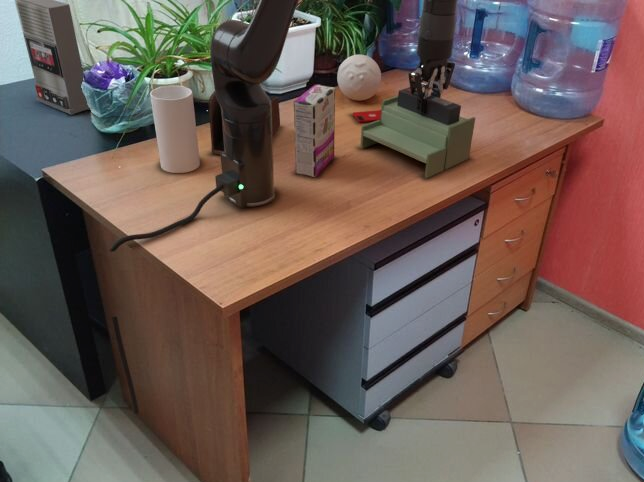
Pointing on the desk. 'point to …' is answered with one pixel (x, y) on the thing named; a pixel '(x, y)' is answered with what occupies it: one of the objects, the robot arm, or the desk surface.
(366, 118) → the electronic device
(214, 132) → the letter holder
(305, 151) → the candy bar box
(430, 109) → the remote
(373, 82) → the decorative ball
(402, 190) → the desk surface
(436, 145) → the step shelf
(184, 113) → the cup
